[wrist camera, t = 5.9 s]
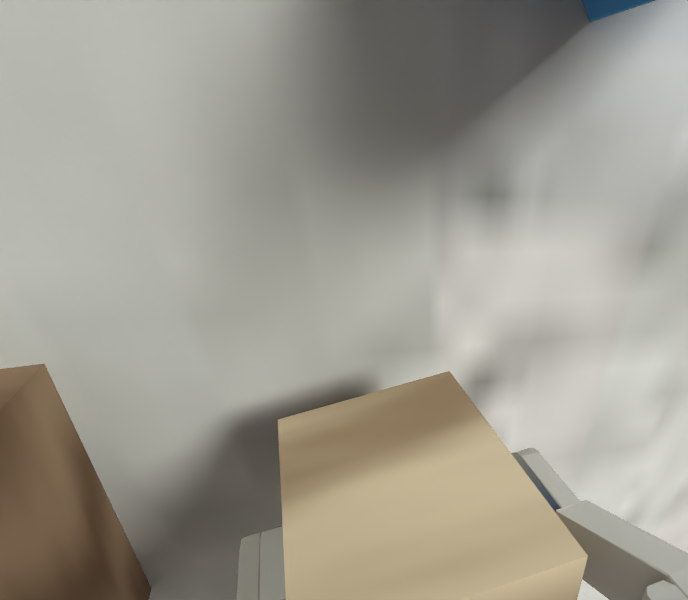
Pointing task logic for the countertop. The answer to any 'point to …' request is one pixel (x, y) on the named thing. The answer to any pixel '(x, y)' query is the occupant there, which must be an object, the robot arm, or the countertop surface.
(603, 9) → the perfume bottle
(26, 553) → the walnut block
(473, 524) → the maple cube
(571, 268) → the countertop surface
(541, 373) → the countertop surface
